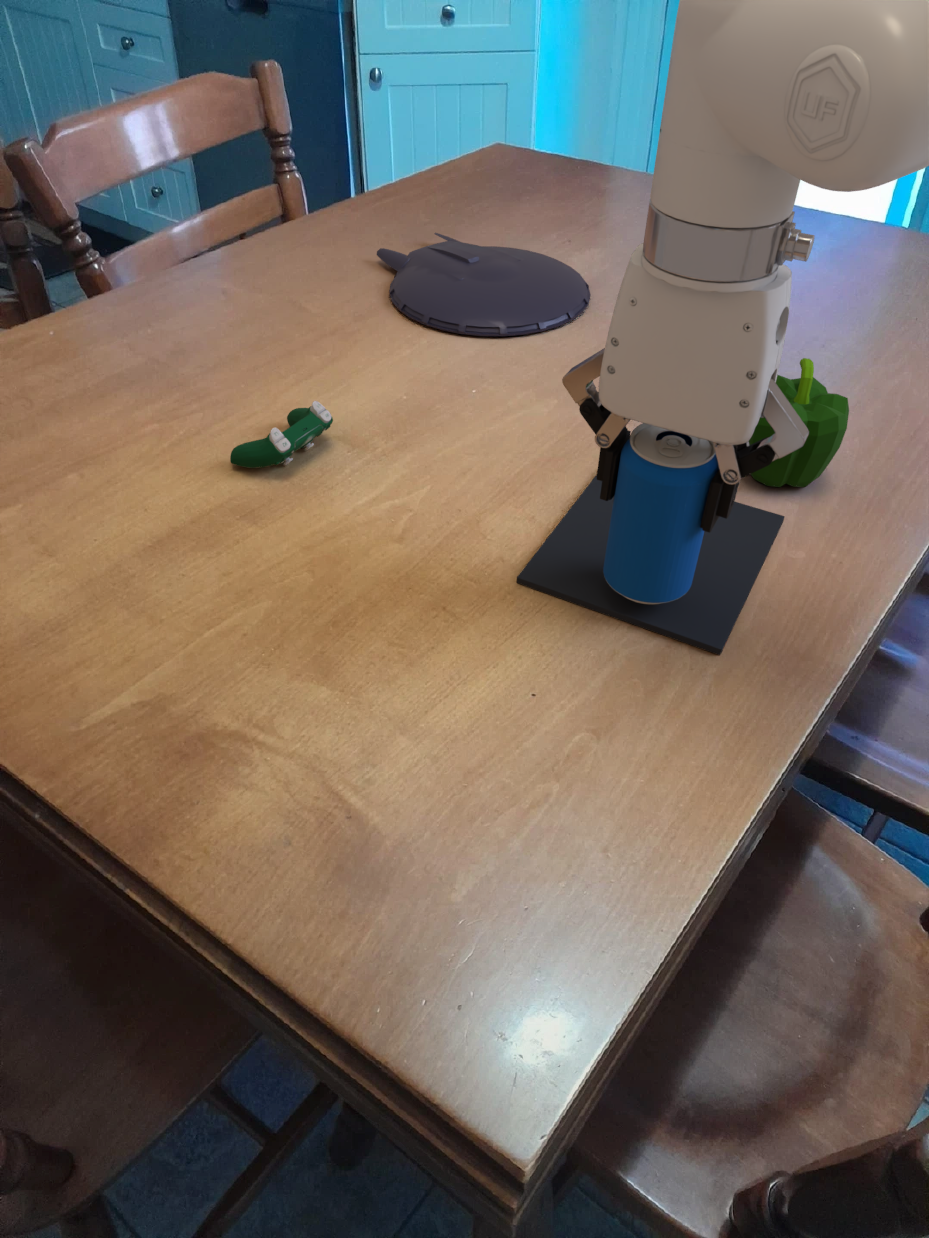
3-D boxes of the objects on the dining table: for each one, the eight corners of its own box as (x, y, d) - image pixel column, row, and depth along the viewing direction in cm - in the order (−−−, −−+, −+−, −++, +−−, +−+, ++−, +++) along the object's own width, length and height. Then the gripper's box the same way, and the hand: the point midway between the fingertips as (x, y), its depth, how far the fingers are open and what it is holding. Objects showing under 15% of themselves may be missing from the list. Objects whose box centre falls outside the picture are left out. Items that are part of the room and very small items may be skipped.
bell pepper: (811, 512, 76) (847, 407, 69) (719, 481, 79) (744, 378, 72) (839, 466, 81) (875, 364, 74) (751, 439, 84) (778, 338, 78)
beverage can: (695, 564, 68) (729, 425, 60) (684, 619, 64) (719, 477, 55) (610, 547, 69) (632, 409, 61) (594, 600, 65) (615, 458, 57)
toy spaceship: (331, 275, 111) (328, 249, 109) (479, 232, 122) (479, 207, 120) (478, 359, 95) (479, 330, 93) (632, 300, 107) (636, 273, 104)
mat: (783, 521, 75) (784, 516, 75) (719, 655, 63) (721, 649, 63) (604, 468, 81) (605, 463, 80) (516, 583, 69) (516, 577, 68)
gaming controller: (250, 491, 80) (281, 466, 76) (222, 456, 79) (252, 429, 75) (316, 445, 86) (348, 419, 81) (291, 412, 85) (322, 384, 81)
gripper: (888, 247, 49) (800, 514, 61) (593, 193, 55) (567, 446, 67) (862, 297, 44) (772, 576, 56) (541, 232, 50) (523, 497, 62)
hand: (661, 503), depth 62 cm, fingers closed on beverage can, 6 cm apart
